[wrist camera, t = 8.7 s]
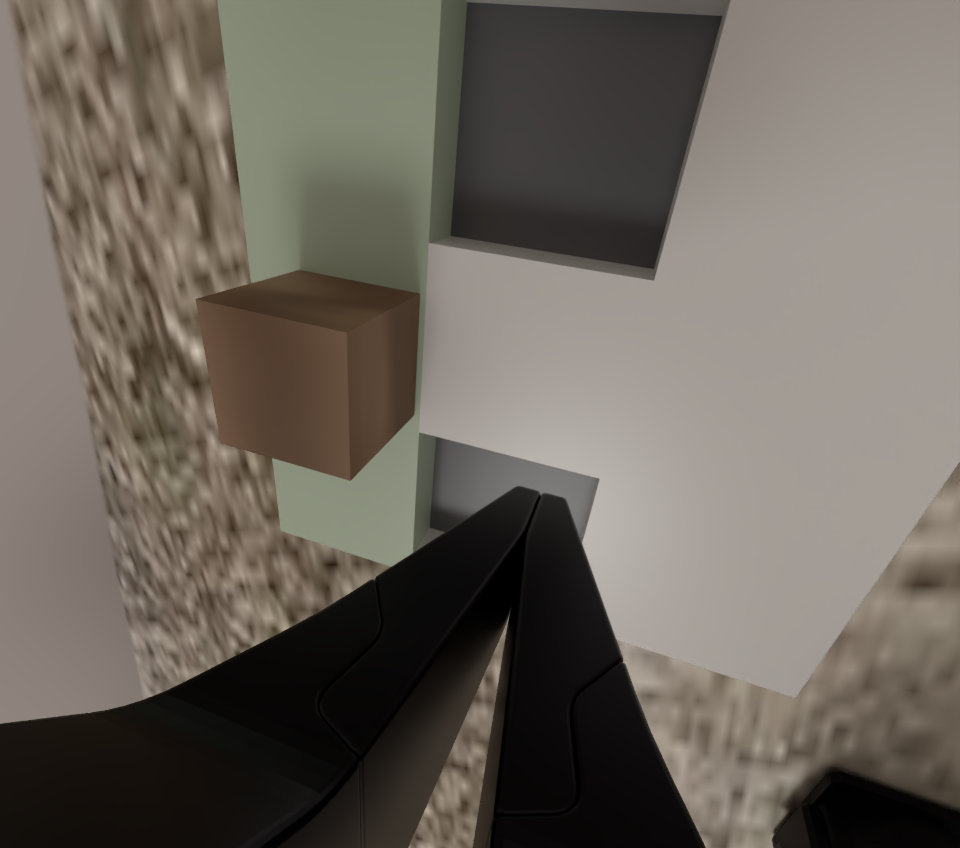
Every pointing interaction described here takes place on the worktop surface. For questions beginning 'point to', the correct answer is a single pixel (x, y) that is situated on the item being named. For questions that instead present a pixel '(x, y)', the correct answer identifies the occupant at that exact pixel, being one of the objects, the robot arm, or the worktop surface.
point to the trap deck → (634, 284)
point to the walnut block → (311, 368)
